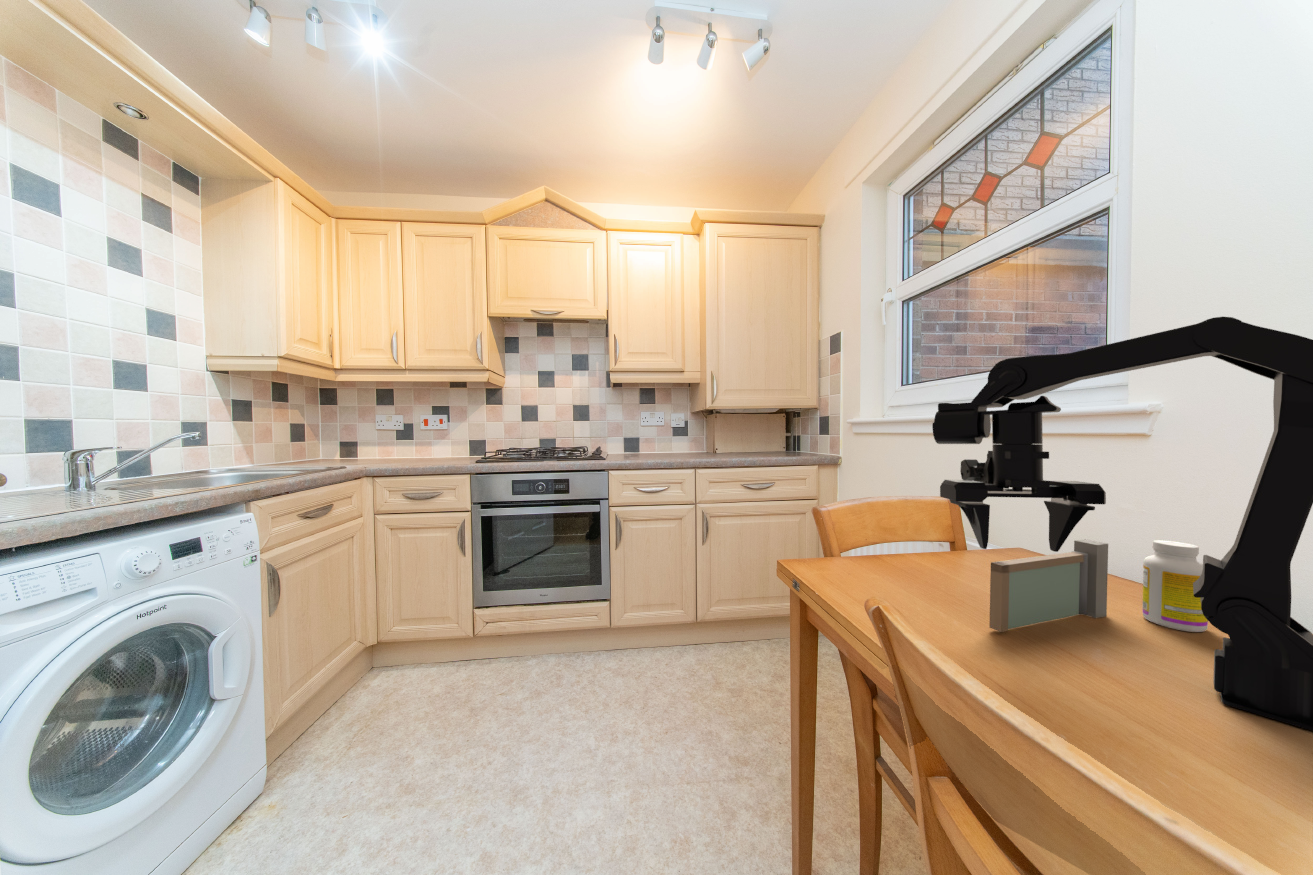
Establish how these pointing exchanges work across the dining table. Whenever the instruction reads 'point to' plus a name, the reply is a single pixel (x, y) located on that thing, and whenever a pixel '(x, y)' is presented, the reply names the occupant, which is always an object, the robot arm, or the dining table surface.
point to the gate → (1037, 589)
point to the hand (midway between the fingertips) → (1018, 549)
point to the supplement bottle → (1173, 586)
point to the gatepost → (1095, 575)
